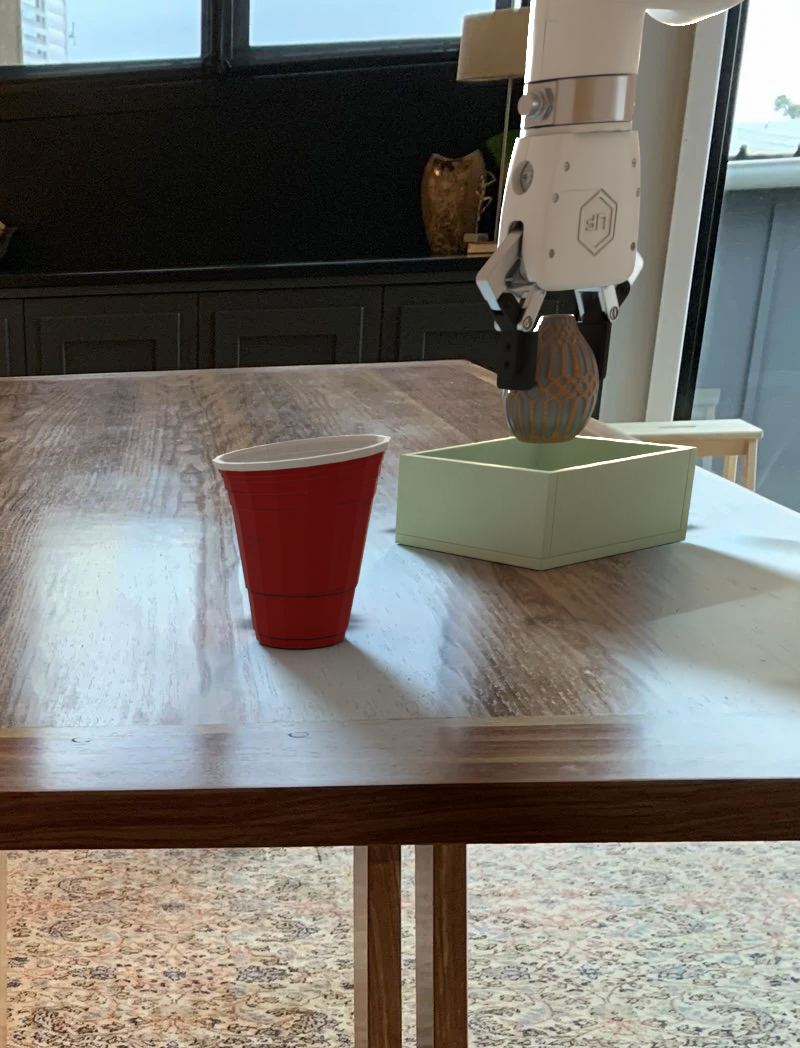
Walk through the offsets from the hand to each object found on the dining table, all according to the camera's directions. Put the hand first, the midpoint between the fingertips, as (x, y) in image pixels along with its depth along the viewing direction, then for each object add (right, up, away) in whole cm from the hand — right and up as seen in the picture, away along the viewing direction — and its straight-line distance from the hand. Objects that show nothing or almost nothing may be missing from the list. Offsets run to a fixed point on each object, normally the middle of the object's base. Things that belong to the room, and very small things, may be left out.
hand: (551, 382), depth 115 cm
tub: (+1, -10, +5) cm, 12 cm away
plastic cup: (-22, -24, -17) cm, 37 cm away
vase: (0, -4, +2) cm, 4 cm away
